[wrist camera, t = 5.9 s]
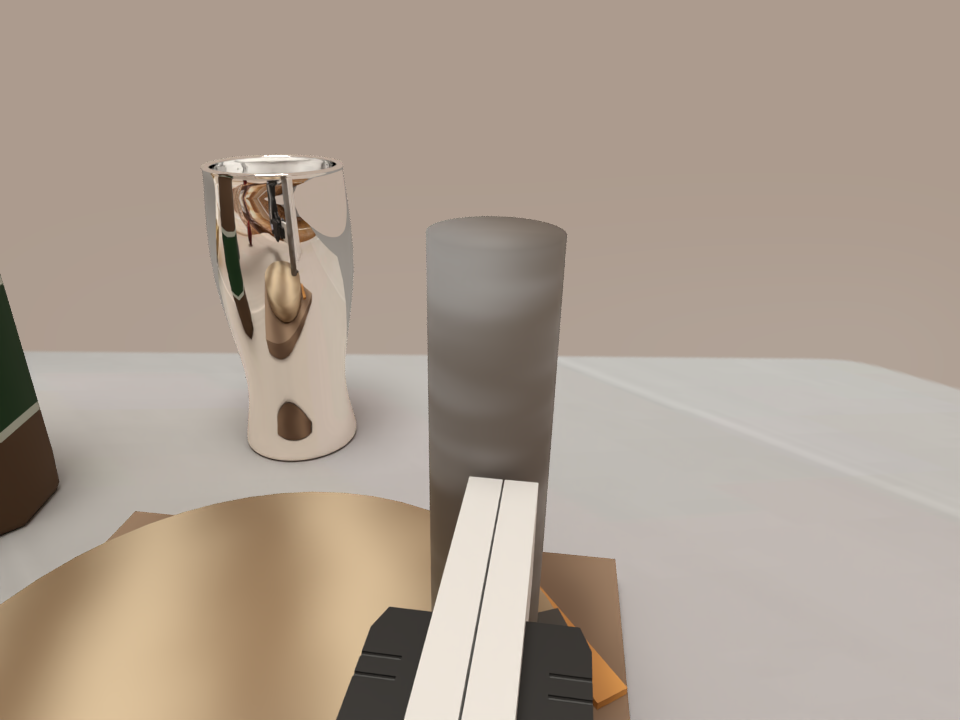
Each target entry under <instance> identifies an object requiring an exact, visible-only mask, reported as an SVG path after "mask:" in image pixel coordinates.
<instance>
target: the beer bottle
mask: <svg viewBox="0 0 960 720" xmlns="http://www.w3.org/2000/svg"><path fill="white" fill-rule="evenodd" d="M58 483H59V479H58V475H57V470H56V465H55V460H54V456H53V451H52V448H51V444H50V441H49V437H48V434H47V431H46V427H45V424H44V420H43V417H42V414H41V410H40V407H39V403H38V400H37V397H36V393H35V390H34V386H33V383H32V380H31V376H30V373H29V369H28V366H27V363H26V359H25V356H24V353H23V349H22V346H21V342H20V340H19V336H18V333H17V329H16V325H15V322H14V319H13V316H12V312H11V308H10V305H9V302H8V298H7V295H6V292H5V289H4V285H3V281H2V278H1V275H0V535H2V534H5V533H7V532H10V531H12V530H14V529H17V528H19V527H22V526H24V525H25V524H26V523H27V522H28V521H29V520H30V519H31V518H32V516H33V515H34V514H35V513H36V512H37V511H38V510H39V509H40V507H41V506H42V505H43V504H44V503H45V502H46V501H47V500H48V498H49V497H50V496H51V495H52V494H53V493H54V492H55V491H56V489H57V486H58Z"/></svg>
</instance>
